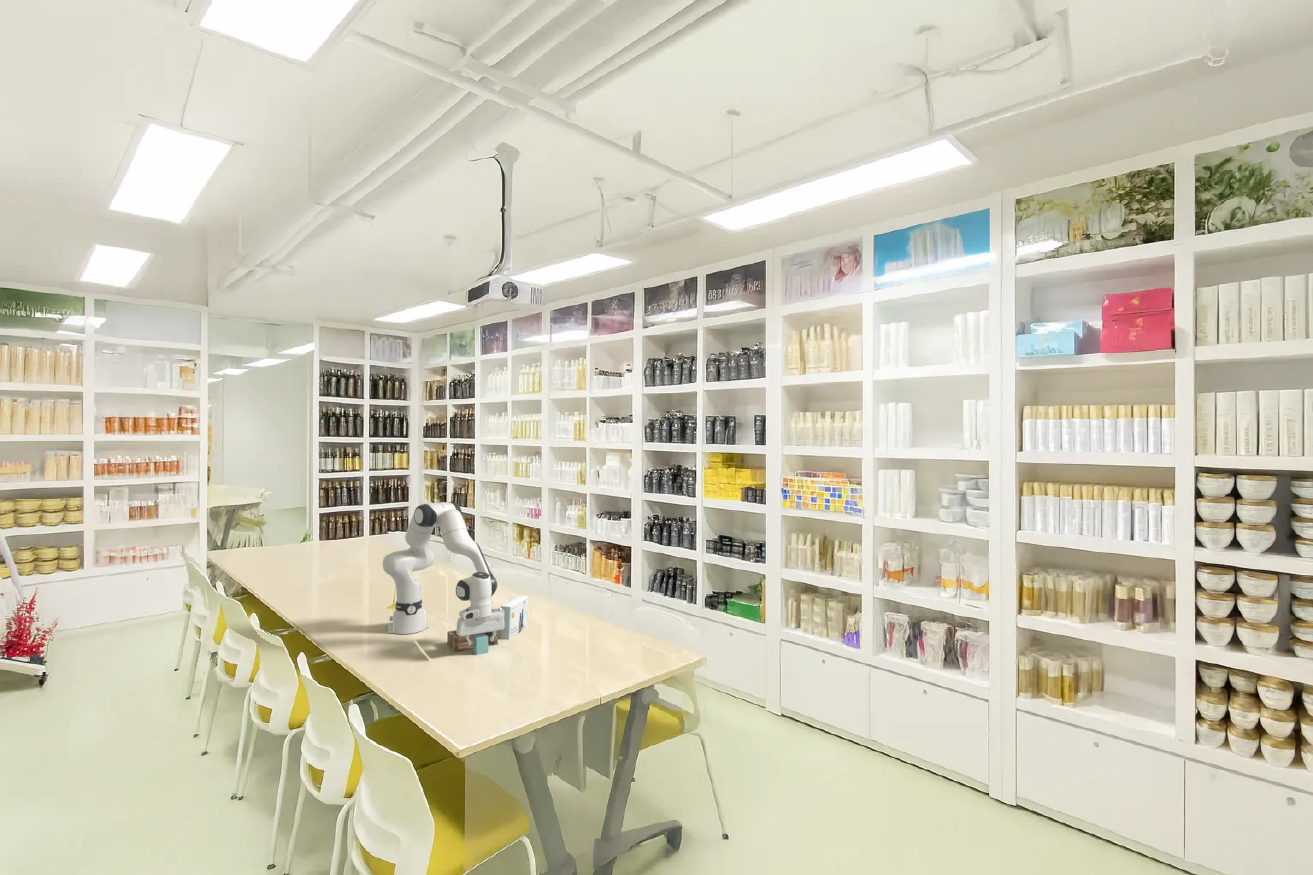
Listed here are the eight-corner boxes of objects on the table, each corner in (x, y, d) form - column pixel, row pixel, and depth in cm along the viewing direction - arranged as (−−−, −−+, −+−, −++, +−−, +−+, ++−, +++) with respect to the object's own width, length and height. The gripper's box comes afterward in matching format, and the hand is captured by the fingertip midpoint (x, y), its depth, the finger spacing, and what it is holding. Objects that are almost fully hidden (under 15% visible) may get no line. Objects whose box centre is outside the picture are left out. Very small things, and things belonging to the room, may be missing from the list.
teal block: (473, 651, 271) (473, 635, 271) (484, 649, 274) (484, 633, 274) (476, 655, 267) (476, 638, 267) (488, 653, 270) (488, 636, 270)
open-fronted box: (447, 646, 281) (447, 631, 281) (489, 638, 291) (489, 624, 291) (454, 653, 271) (454, 638, 271) (497, 646, 281) (497, 631, 281)
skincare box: (510, 641, 288) (510, 606, 288) (499, 640, 289) (499, 605, 289) (528, 627, 308) (528, 595, 308) (518, 627, 309) (518, 594, 310)
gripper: (502, 605, 279) (501, 636, 279) (455, 612, 268) (455, 645, 268) (506, 609, 274) (506, 640, 274) (459, 616, 263) (459, 649, 263)
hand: (480, 643), depth 271 cm, fingers open, 8 cm apart
